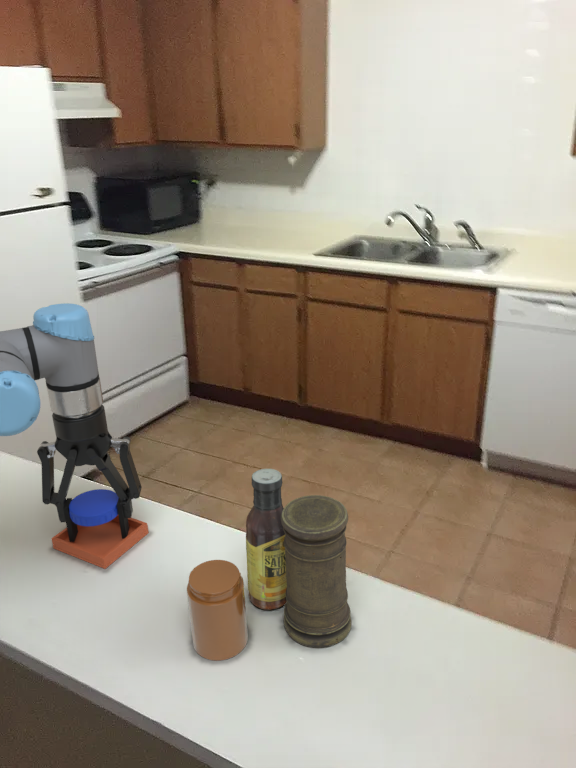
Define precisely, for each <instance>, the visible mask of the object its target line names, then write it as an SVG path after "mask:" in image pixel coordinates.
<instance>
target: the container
mask: <svg viewBox="0 0 576 768" xmlns="http://www.w3.org/2000/svg"><path fill="white" fill-rule="evenodd" d="M283 508H284V509H283V511H282V514H281V523H282V526H283V529H284V532H285V538H284V547H285V560H286V579H287V588H286V599H287V603H286V604H285V605H284V609H283V614H284V615H283V626H284V629H285V631H286V633H287V634H288V636H289V637H290V638H291V639H292V640H293V641H294V642H296V643H297V644H299V645H301V646H305V647H307V648H309V647H310V648H313V649H317V648H319V649H321V648H328V647H331V646H332V647H333V646H335V645H337V644H339V643H340V642H342V641H344V640H345V639H346V637H348V635H349V633H350V631H351V628H352V615H351V608H350V607H351V606H350V605H349V603H348V598H349V591H348V588H347V543H348V542H347V538H346V531H347V525H348V522H349V513H348V510H347V508H346V506H345V505H344V504H343V503H342V502H341V501H339V500H337V499H335V498H333V497H330V496H328V495H327V496H326V495H320V494H319V495H318V494H310V495H309V494H308V495H303V496H300V497H297V498H294V499H293V500H291V501H289V502H288V503H287V504H286V505H285V506H283Z"/></svg>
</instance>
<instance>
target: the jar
mask: <svg viewBox="0 0 576 768" xmlns="http://www.w3.org/2000/svg"><path fill="white" fill-rule="evenodd" d="M186 595H187V596H186V597H187V604H188V610H189V611H188V612H189V621H190V628H191V629H190V630H191V636H192V645H193V648H194V650H195V652H196V653H197V654H198V655H199V656H200V657H202V658H204V659H206V660H209V661H216V662H217V661H226V660H229V659H232V658H234V657H236V656H237V655H239V654H240V653H242V651H243V650H244V649H245V647H246V646H247V644H248V640H249V635H248V620H247V608H246V607H247V606H246V596H245V582H244V579H243V576H242V573H241V572H240V570H239V568H238V566H237V565H236V564H235V563H233V562H231V561H228V560H224V559H211V560H207V561H204V562H202V563H199V564H198V565H197V566H195V567H194V568H193V569H192V570H191V571H190V573H189V575H188V583H187V585H186Z"/></svg>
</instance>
